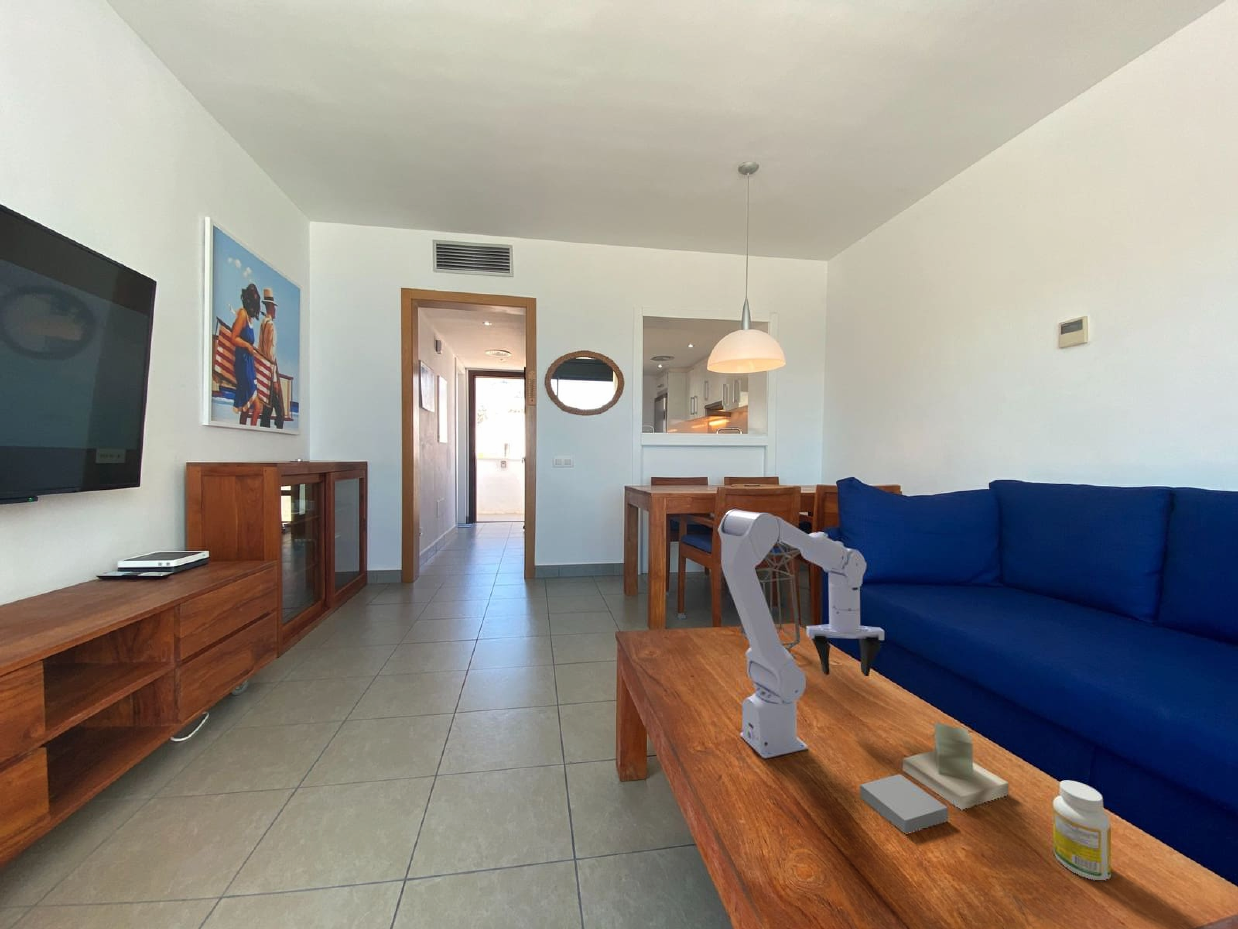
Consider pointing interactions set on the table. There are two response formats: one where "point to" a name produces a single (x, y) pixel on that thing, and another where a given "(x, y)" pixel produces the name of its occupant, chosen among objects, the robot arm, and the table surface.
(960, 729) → the sage green block
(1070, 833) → the supplement bottle
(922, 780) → the pale ash block
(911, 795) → the slate grey block
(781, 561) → the geometric lantern
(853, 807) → the table surface
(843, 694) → the table surface
